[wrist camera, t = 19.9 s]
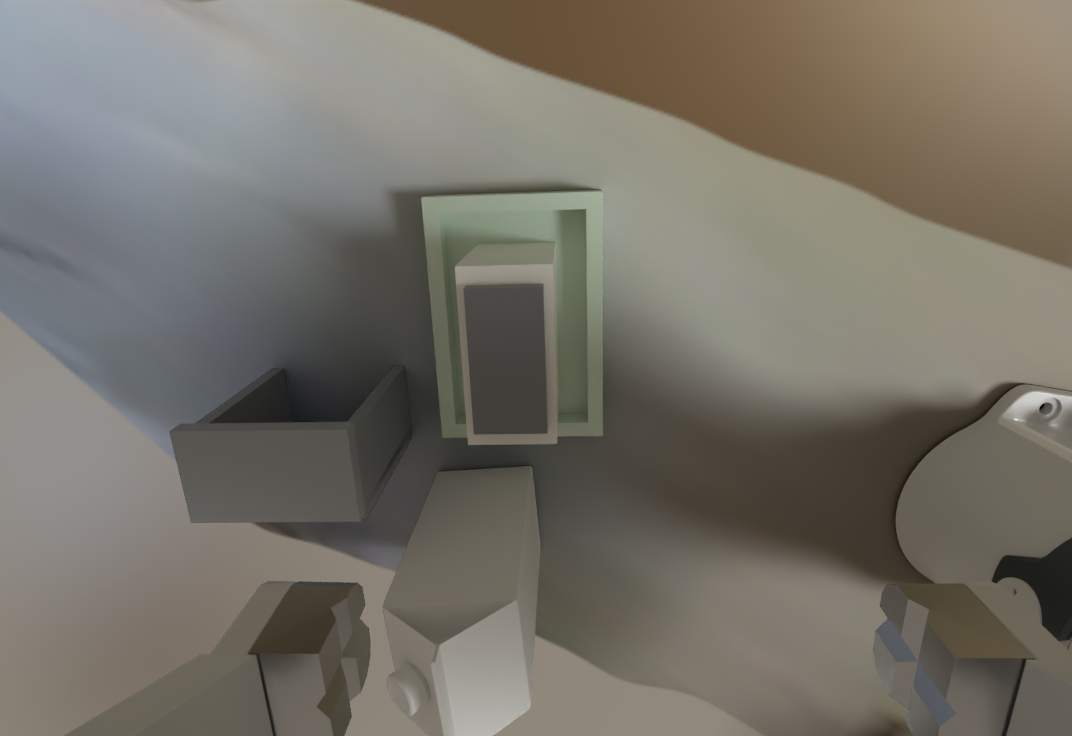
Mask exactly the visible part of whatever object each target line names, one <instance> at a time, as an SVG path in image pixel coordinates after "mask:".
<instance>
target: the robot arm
mask: <svg viewBox="0 0 1072 736" xmlns="http://www.w3.org/2000/svg"><path fill="white" fill-rule="evenodd" d="M1044 403H1045V405H1044V407H1043V408H1042V409H1040V410H1039V408H1040V406H1041V405H1042V404H1044ZM896 532H897V537H898V541H899V544H900V547H901V549H902V551H903V553H904V555H905V556H906V558H907V559H908V561H909V562H910V563H911V564H912V566H913V567H914V568H915V569H916V570H917V571H919V572H920V573H921V574H922V575H924V576H925V577H927V578H928V579H930V580H931V581H933V582H934V583H936V584H887V585H886V587H885V588H884V590H883V592H882V596H881V602H880V607H881V609H882V610H883V612H884V613H885V614H886V616H887V617H888V619H887V620H886V621H885V622H884V623H882V624H881V625H880V626H879V627H878V628H877V629H876V631H875V639H874V647H873V650H874V657H875V663H876V669H877V671H878V674H879V677H880V679H881V682H882V684H883V686H884V687H885V689H886V691H887V692H888V694H889V696H890V697H891V698H892V699H894V700H895V701H897V702H898V703H900V704H901V705H903V706H904V707H905V708H907V709H908V715H907V720H906V724H907V725H908V727H909V729H910V730H911V732H912V734H913V735H914V736H1072V392H1070V391H1064V390H1058V389H1052V388H1046V387H1041V386H1035V385H1019V386H1017V387H1014V388H1013V389H1011V390H1010V391H1008V392H1007V393H1006V394H1005V395H1004V396H1003V397H1002V398H1001V399H1000V400H998V402H997V403H996V404H995V405H994V406H993V407H992V408H991V409H990V410H989V411H988V412H987V414H986V415H985V416H984V417H982V418H981V419H980V420H978V421H977V422H975V423H973V424H972V425H970V426H968V427H966V428H964V429H963V430H961V431H959V432H957V433H955V434H954V435H952V436H950V437H949V438H947V439H946V440H944V441H943V442H941V443H940V444H939V445H938V446H936V447H935V448H934V449H933V450H932V451H931V452H929V453H928V454H927V455H926V456H925V457H924V458H923V459H922V461H921V462H920V463H919V464H918V465H917V467H916V468H915V469H914V471H913V472H912V473H911V475H910V477H909V478H908V480H907V482H906V484H905V486H904V488H903V490H902V492H901V495H900V498H899V501H898V506H897V511H896ZM364 607H365V600H364V594H363V588H362V586H360V585H359V584H358V583H343V582H302V581H300V582H288V581H287V582H286V581H284V582H283V581H280V582H279V581H268V582H266V583H264V584H261V585H260V586H259V587H258V589H257V590H256V592H255V593H254V594H253V596H252V597H251V599H250V600H249V601H248V603H247V604H246V605H245V607H244V608H243V610H242V611H241V612H240V614H239V615H238V616H237V618H236V619H235V621H234V622H233V623H232V625H231V626H230V628H229V629H228V630H227V632H226V633H225V634H224V636H223V637H222V639H221V640H220V641H219V643H218V644H217V645H216V647H215V648H214V650H213V651H212V652H211V654H202V655H201V654H200V655H198V656H197V657H195V658H193V659H192V660H190V661H188V662H187V663H185V664H183V665H182V666H180V667H178V668H177V669H175V670H173V671H172V672H170V673H168V674H167V675H165V676H163V677H162V678H160V679H158V680H156V681H155V682H153V683H151V684H150V685H148V686H146V687H145V688H143V689H141V690H140V691H138V692H136V693H135V694H133V695H131V696H130V697H128V698H126V699H125V700H123V701H121V702H119V703H118V704H116V705H114V706H113V707H111V708H109V709H108V710H106V711H104V712H103V713H101V714H99V715H98V716H96V717H94V718H93V719H91V720H89V721H88V722H86V723H84V724H83V725H81V726H79V727H78V728H76V729H74V730H72V731H71V732H69V733H67V734H66V735H64V736H344V735H345V733H346V730H347V727H348V725H349V722H350V719H351V717H352V715H351V708H350V701H351V700H352V699H353V698H354V697H355V696H357V695H358V694H359V693H360V692H361V691H362V688H363V685H364V683H365V680H366V677H367V672H368V667H369V661H370V634H369V628H368V627H367V626H366V625H365V624H364V623H363V621H362V620H361V619H360V616H361V614H362V611H363V609H364Z"/></svg>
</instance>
